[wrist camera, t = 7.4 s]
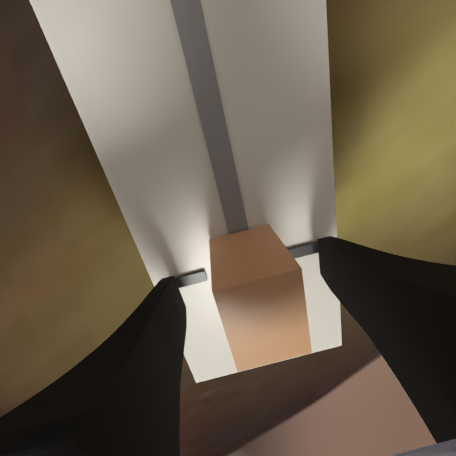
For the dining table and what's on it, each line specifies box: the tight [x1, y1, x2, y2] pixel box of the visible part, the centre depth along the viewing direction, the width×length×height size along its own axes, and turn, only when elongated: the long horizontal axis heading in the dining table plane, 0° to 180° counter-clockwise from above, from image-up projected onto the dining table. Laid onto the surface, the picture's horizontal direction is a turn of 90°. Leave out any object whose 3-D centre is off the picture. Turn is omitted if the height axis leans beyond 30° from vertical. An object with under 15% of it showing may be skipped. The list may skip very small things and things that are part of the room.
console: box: [30, 0, 342, 383], centre depth 11 cm, size 10×26×2 cm, turn 13°
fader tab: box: [209, 224, 312, 372], centre depth 10 cm, size 3×4×4 cm
